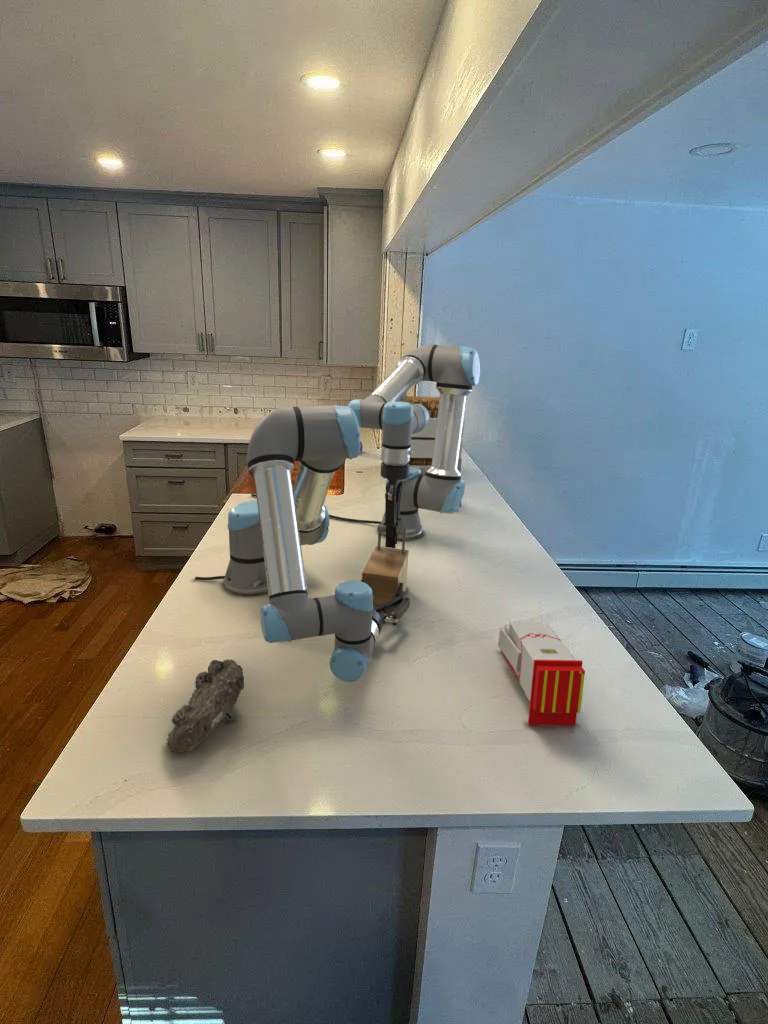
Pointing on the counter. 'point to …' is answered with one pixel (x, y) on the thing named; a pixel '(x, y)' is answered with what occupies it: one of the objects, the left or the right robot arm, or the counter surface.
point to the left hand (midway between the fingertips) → (382, 585)
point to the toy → (544, 672)
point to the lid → (387, 558)
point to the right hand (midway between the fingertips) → (391, 545)
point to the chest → (386, 587)
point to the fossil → (206, 705)
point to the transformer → (426, 433)
